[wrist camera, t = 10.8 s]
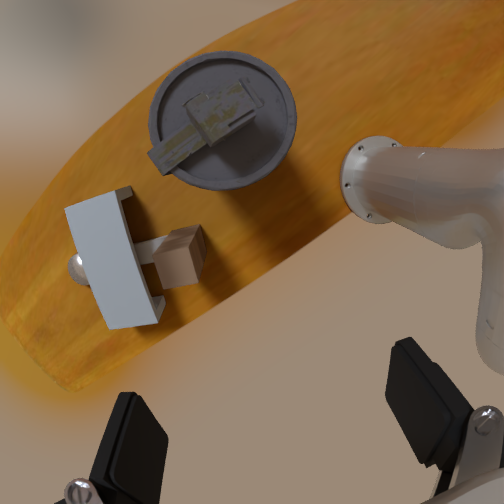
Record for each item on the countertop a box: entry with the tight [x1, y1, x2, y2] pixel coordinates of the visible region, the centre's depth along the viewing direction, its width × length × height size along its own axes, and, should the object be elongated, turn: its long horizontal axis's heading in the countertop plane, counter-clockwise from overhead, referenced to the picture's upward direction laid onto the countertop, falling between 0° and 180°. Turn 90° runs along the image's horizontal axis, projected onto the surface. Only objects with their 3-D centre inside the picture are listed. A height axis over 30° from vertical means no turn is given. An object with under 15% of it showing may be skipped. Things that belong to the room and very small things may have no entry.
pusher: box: [133, 224, 207, 290], centre depth 34 cm, size 16×4×10 cm, turn 101°
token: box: [68, 252, 89, 285], centre depth 38 cm, size 5×5×2 cm
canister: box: [147, 51, 297, 191], centre depth 25 cm, size 11×10×20 cm
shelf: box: [64, 186, 166, 330], centre depth 36 cm, size 8×18×6 cm, turn 11°
